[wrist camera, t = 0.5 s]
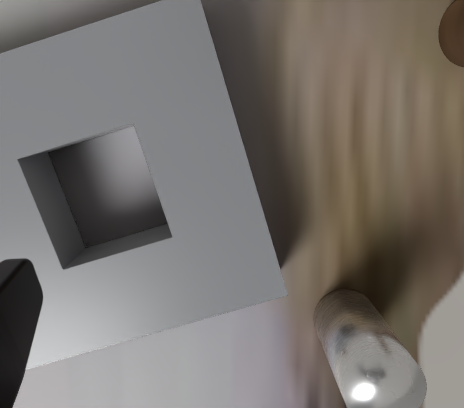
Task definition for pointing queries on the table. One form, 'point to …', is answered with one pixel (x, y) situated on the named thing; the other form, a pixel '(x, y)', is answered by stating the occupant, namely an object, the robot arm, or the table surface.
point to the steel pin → (366, 354)
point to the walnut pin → (453, 33)
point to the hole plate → (162, 171)
